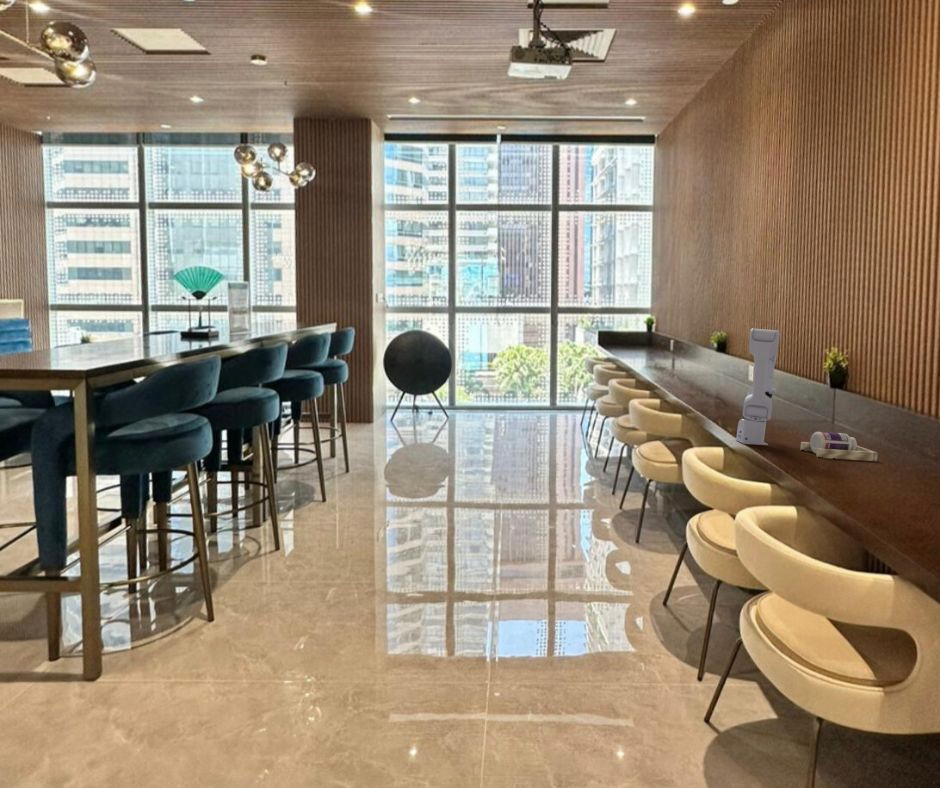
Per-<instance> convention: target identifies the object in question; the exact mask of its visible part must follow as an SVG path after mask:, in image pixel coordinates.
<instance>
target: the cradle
mask: <svg viewBox="0 0 940 788" xmlns="http://www.w3.org/2000/svg"><path fill="white" fill-rule="evenodd" d="M801 450H804V452H813V451H812V450H811V447H810V441H809V442H808V441H800V448H799V451H801ZM878 455H879V453H878V452H877V451H874V450H871V449H868V448H865V447H863V446H859V445H857V447H856V450H855V451H852V450H836V449H820V448H817V453H816V455H815V457H816V458H818V457H821V458H820V459H833V458H835V459H836V460H837V459H839V460H853V461H868V462H877V461H878ZM822 457H823V458H822Z"/></svg>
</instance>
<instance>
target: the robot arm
mask: <svg viewBox="0 0 940 788" xmlns="http://www.w3.org/2000/svg"><path fill="white" fill-rule="evenodd" d="M780 333H781V332H780V330H778V329H776V330H775V329H763V328H762V329H761V328H754V327H752V328H751V329H750V332H749V338H748V339H749V340H748V350H749V351H748V353H749V354H751V355H752V356H753V361H754V367H753V381H752V382H753V384H752V387H750V388H749V393H750V394H748V395H747V396H746V397H745V398H744V401H743V407H742V416H743V418H744V419H743V418H741V419H739V421H738V423H737V430H736V437H735V441H737V442H739V443H741V444H743V445H757V446H758V445H759V446H769V444H768V443H766V442H765V436H766V435H765V434H766V427H767V421H769V420H771V418H772V412H773V411H772V410H773V401H772V397H773V394H777V392H778V388H777V387H776V388H775V387H773V382H774V373H775V372H774V370H775V366H776V362H777V358H778V347H779V343H780V337H781V334H780Z"/></svg>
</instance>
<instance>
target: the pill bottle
mask: <svg viewBox="0 0 940 788" xmlns="http://www.w3.org/2000/svg"><path fill="white" fill-rule="evenodd" d="M810 437H811V438H810V441H809V442H810V447H811V450H812V451H811V452H813V453H814V454H816V453H817V448H820V449H836V450H852V451H855V450H856V447H857V446H858V444H857V440H856V438H855V437H852V436H849V434H847V433H844V432H831V431H830V432H827V431H815V432H814V433H813V434H812V435H811V436H810Z"/></svg>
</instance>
